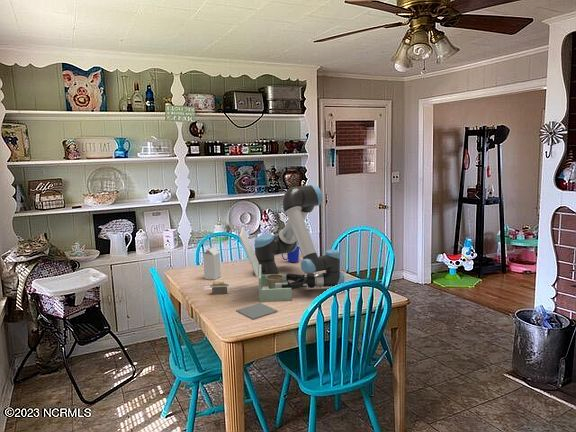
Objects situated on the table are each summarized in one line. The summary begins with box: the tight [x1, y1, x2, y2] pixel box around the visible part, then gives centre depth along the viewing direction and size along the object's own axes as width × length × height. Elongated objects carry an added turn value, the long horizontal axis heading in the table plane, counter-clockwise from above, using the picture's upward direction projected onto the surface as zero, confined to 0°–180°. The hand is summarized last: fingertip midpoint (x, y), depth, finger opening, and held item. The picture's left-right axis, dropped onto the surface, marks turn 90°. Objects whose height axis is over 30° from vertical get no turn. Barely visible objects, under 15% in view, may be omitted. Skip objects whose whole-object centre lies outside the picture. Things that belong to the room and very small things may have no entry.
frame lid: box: [239, 226, 259, 278], centre depth 230 cm, size 22×26×1 cm
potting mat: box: [235, 302, 279, 320], centre depth 208 cm, size 14×14×1 cm
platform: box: [209, 281, 230, 295], centre depth 235 cm, size 12×18×7 cm, turn 92°
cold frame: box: [257, 264, 293, 303], centre depth 233 cm, size 16×26×12 cm, turn 3°
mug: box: [281, 245, 300, 264], centre depth 294 cm, size 8×12×10 cm
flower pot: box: [266, 273, 284, 289], centre depth 234 cm, size 9×9×9 cm
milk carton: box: [202, 245, 222, 281], centre depth 262 cm, size 7×7×19 cm
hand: (274, 282), depth 233 cm, fingers open, 13 cm apart
